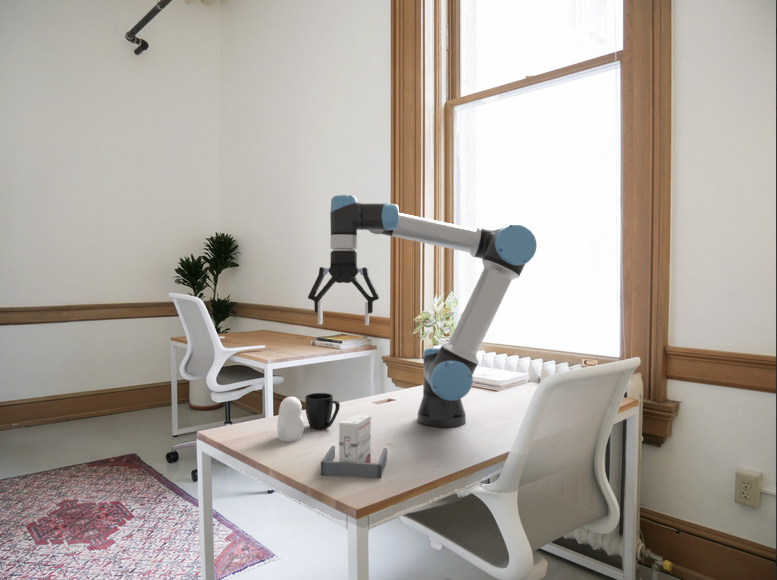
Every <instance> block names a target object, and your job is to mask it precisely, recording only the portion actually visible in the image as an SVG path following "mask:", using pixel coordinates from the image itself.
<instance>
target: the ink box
mask: <svg viewBox="0 0 777 580" xmlns="http://www.w3.org/2000/svg"><path fill="white" fill-rule="evenodd" d="M371 424H372V416H370V415H368V414H367V415H365V414H353V415H351V416H349V417H348V418H346V419H344V420H343V421H341V422H339V429H338V430H339V431H338V432H339V433H338V438H339V441H338V444H339V447H338V448H339V449H338V451H339V454H338V455H339V461H338V462H355V463H371V443H372V442H371V440H372V439H371V435H372V433H371V431H372V430H371V429H372V427H371Z"/></svg>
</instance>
